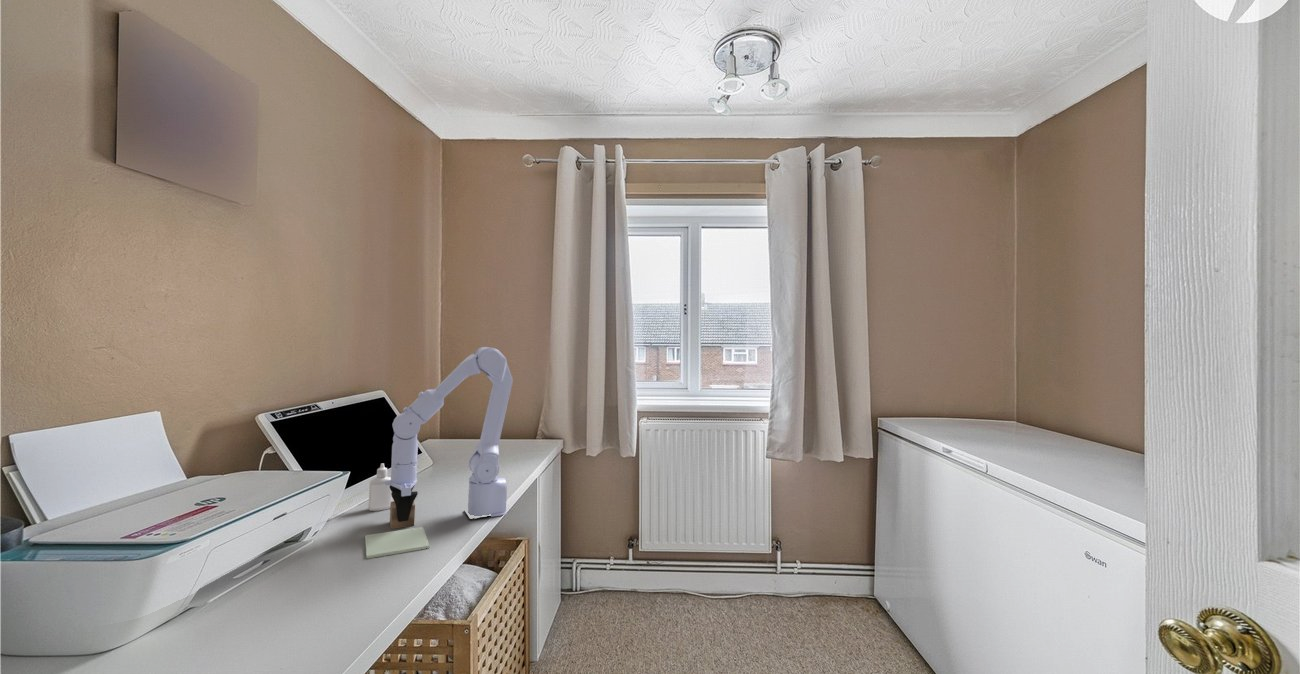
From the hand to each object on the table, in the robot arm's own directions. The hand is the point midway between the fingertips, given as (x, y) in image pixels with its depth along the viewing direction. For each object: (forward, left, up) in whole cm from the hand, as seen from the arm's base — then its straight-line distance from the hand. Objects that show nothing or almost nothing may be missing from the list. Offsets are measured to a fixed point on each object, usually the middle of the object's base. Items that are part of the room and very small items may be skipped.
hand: (402, 517), depth 122 cm
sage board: (+2, +12, -2) cm, 12 cm away
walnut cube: (0, 0, -2) cm, 2 cm away
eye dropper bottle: (+4, -14, -2) cm, 15 cm away
